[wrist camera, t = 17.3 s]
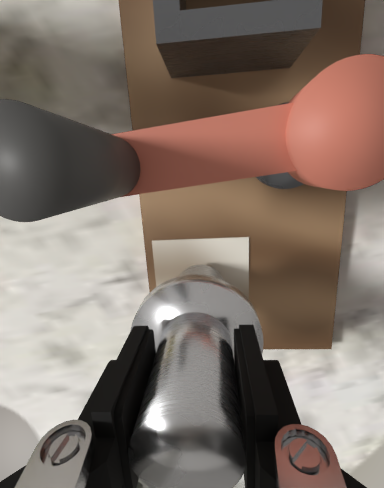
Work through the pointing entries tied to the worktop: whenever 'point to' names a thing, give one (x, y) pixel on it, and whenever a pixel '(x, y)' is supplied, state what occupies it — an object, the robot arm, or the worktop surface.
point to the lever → (198, 147)
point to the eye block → (234, 35)
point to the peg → (192, 384)
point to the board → (244, 183)
